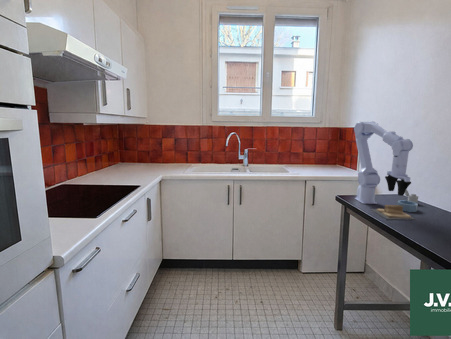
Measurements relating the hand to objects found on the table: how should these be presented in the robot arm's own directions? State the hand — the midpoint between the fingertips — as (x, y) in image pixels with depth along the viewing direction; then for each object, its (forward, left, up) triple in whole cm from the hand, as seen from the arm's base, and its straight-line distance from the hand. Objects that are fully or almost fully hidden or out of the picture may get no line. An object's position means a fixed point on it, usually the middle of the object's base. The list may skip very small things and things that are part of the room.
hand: (395, 193), depth 126 cm
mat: (+3, -2, -10) cm, 10 cm away
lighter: (-15, +18, -10) cm, 25 cm away
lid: (+3, -2, -9) cm, 10 cm away
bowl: (-5, +10, -10) cm, 15 cm away
